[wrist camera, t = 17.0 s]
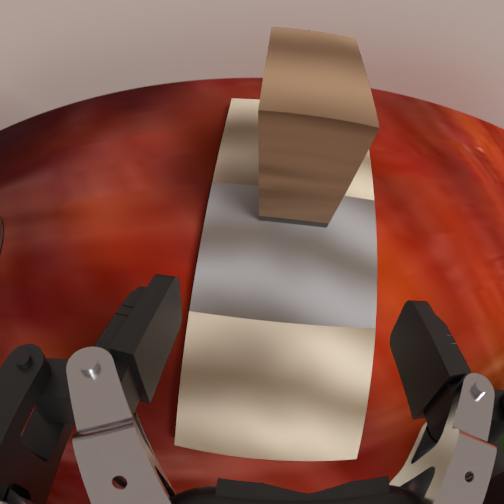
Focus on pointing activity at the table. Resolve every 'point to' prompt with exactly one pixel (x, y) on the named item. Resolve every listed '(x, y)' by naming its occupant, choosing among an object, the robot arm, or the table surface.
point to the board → (278, 318)
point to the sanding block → (311, 125)
